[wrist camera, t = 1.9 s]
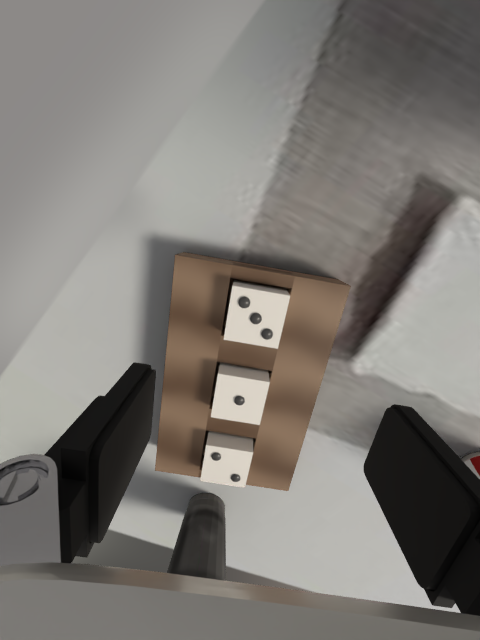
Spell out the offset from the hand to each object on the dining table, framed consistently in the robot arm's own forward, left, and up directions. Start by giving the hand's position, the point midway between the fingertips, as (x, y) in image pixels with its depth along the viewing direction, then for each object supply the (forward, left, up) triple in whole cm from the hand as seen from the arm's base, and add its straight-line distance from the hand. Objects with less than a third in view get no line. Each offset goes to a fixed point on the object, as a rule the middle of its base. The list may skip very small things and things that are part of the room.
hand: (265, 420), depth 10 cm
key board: (+7, 0, -16) cm, 18 cm away
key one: (+7, 0, -14) cm, 16 cm away
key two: (+15, 0, -14) cm, 21 cm away
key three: (0, 0, -14) cm, 14 cm away
